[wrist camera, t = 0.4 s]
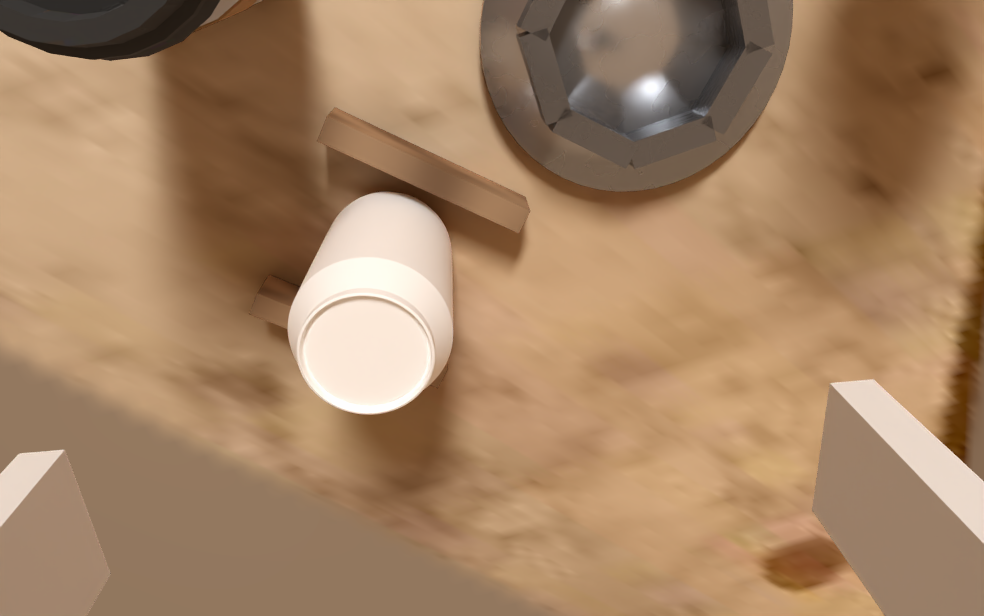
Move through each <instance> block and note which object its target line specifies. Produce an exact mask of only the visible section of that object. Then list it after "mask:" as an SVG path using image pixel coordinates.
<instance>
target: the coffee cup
mask: <svg viewBox="0 0 984 616" xmlns="http://www.w3.org/2000/svg"><path fill="white" fill-rule="evenodd" d="M261 1H263V0H0V31H1V32H3V33H4V34H6V35H7V36H9V37H11V38H14V39H16V40H18V41H21V42H23V43H26V44H28V45H31V46H33V47H36V48H38V49H41V50H43V51H46V52H48V53H51V54H58V55H65V56H71V57H78V58H85V59H93V60H96V59H103V60H109V61H112V60H120V59H128V58H137V57H145V56H150V55H152V54H154V53H157V52H159V51H161V50H164V49H166V48H168V47H170V46H173V45H175V44H177V43H180V42H182V41H183V40H184V39H185V38H187V37H188V36H189V35H190V34H191V33H192V32H195V31H198V30H200V29H202V28H205V27H207V26H209V25H212V24H214V23H216V22H219V21H221V20H223V19H226V18H228V17H230V16H233V15H235V14H237V13H240V12H242V11H244V10H246V9H248V8H249V7H250V6H252V5H254V4H256V3H259V2H261Z"/></svg>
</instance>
